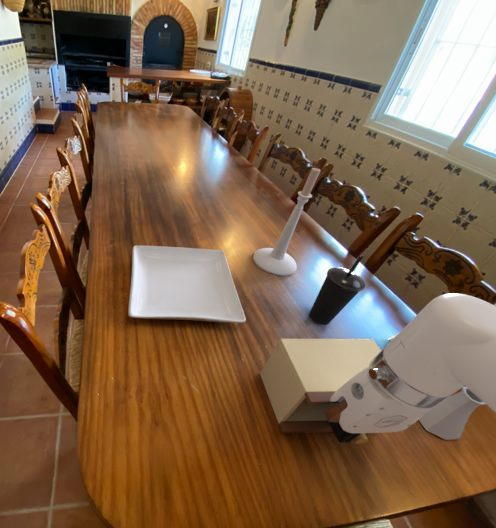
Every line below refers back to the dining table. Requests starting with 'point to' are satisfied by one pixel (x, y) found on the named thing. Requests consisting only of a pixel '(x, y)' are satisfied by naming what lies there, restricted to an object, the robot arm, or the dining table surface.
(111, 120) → the dining table surface
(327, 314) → the drinking cup
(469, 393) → the flask
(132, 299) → the square plate
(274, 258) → the candlestick
